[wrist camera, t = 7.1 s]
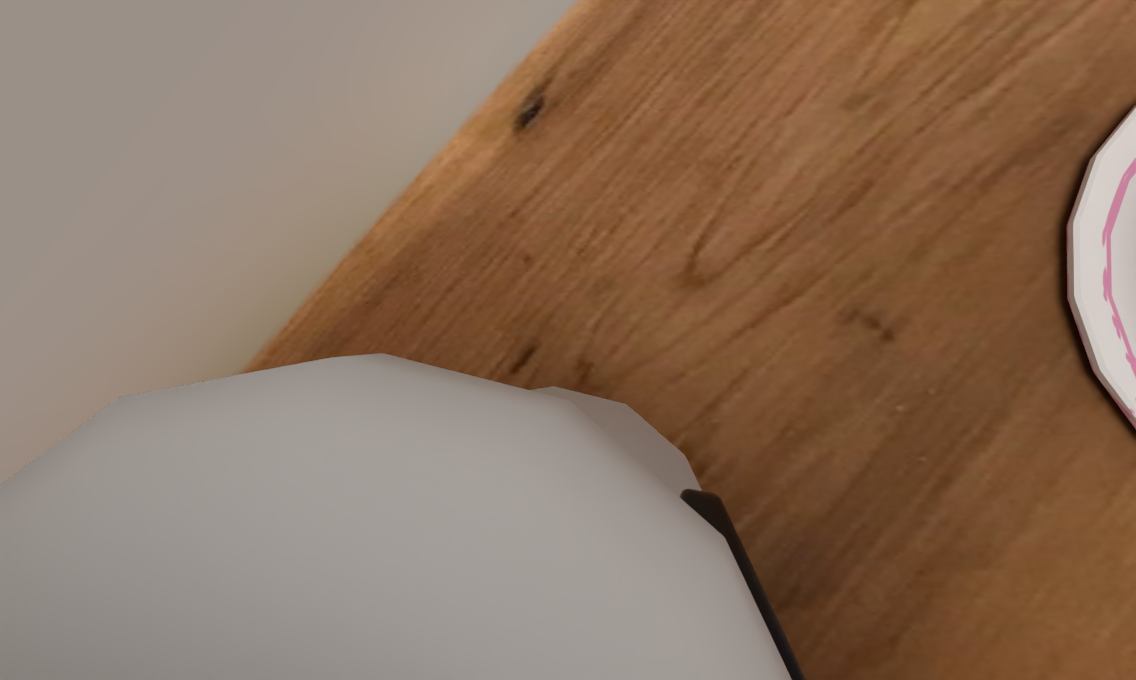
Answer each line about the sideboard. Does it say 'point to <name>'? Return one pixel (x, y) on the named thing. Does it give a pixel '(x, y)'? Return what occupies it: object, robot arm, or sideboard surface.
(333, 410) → the salt shaker
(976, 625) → the sideboard surface
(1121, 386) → the teacup
